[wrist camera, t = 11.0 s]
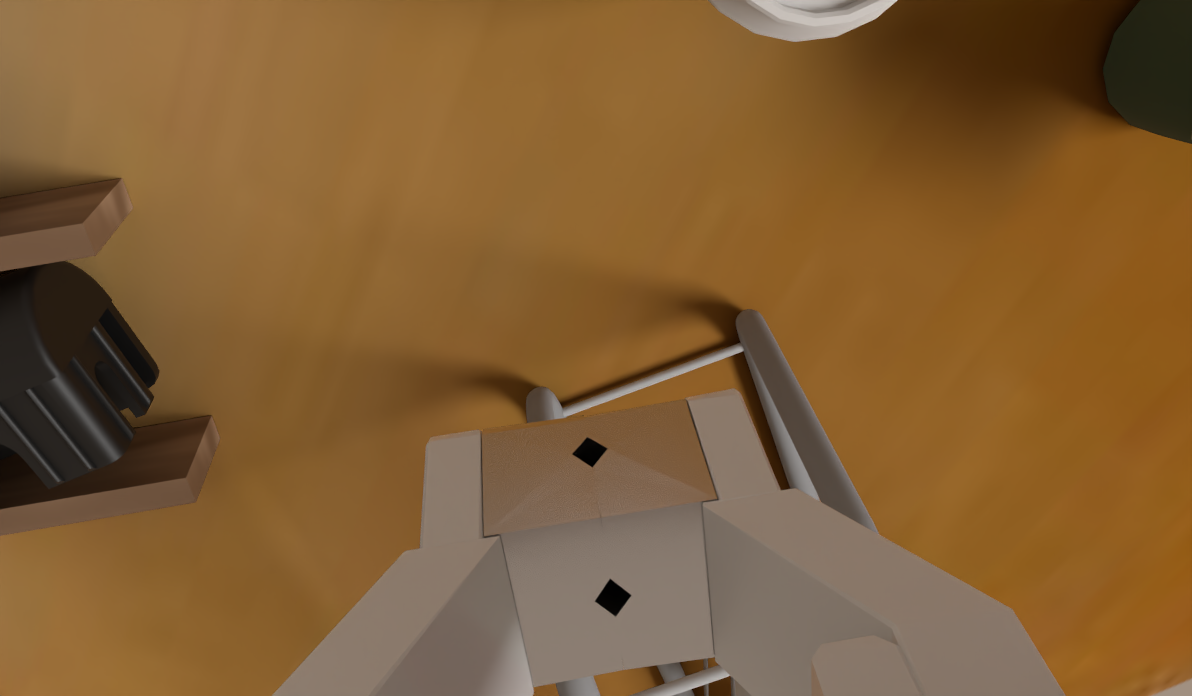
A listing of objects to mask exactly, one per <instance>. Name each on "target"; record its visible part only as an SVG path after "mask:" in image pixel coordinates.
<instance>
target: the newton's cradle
mask: <svg viewBox="0 0 1192 696" xmlns="http://www.w3.org/2000/svg"><path fill="white" fill-rule="evenodd" d="M736 329H737V332H738V336H739V339H740V342H741V343H738V344H735V345H732V346H730V347H727V348H724V349H722V350H719V351H716V352H714V353H711V354H708V355H705V356H703V357H700V358H697V359H695V360H692V361H689V362H686V363H684V364H681V365H678V366H676V367H673V368H670V369H667V370H665V371H662V372H659V373H657V374H654V375H651V376H649V377H646V378H643V379H640V380H638V381H635V382H632V383H630V384H627V385H624V386H621V387H619V388H616V389H613V390H611V391H608V392H605V393H602V394H600V395H597V396H594V397H592V398H589V399H586V400H584V401H581V402H578V403H575V404H573V405H570V406H567V407H565V408H562V407H561V405H560V403H559V401H558V399H557V398H556V396H555V395H554V393H553V392H551V391H550V390H549V389H548V388H546V387H536V388H534V389H533V390H532V391H531V392H530V393H529V394H528V395H527V398H526V414H527V423H531V422H538V421H546V420H553V419H560V418H567V417H566V416H569V415H572V414H574V413H577V412H580V411H582V410H585V409H588V408H591V407H593V406H596V405H599V404H601V403H604V402H607V401H610V400H612V399H615V398H618V397H620V396H623V395H626V394H629V393H631V392H634V391H637V390H639V389H642V388H645V387H648V386H650V385H653V384H656V383H658V382H661V381H664V380H667V379H669V378H672V377H675V376H677V375H680V374H683V373H686V372H688V371H691V370H694V369H696V368H699V367H702V366H705V365H707V364H710V363H713V362H715V361H718V360H721V359H724V358H726V357H729V356H732V355H734V354H737V353H740V352H743V351H744V354H745V357H746V360H747V363H748V366H749V369H750V372H751V374H752V377H753V380H754V383H755V386H756V389H757V392H758V395H759V398H760V401H761V404H762V407H763V410H764V413H765V416H766V419H767V421H768V424H769V427H770V430H771V433H772V436H773V439H774V442H775V445H776V448H777V451H778V454H779V457H780V460H781V463H782V465H783V468H784V471H785V474H786V477H787V480H788V483H789V486H790V489H794V488H796V489H798V490H800V491H802V492H804V493H805V494H807V495H809V496H811V497H813V498H814V499H816V500H818V501H820V500H821V502H822V503H823V504H825V505H827V506H829V507H830V508H832V509H834V510H836V511H838V512H839V513H841V514H843V515H845V516H847V517H848V518H850V519H852V520H854V521H855V522H857V523H859V524H861V525H863V526H864V527H866V528H868V529H870V530H872V531H873V532H875V533H877V534H879V533H878V531H877V529H876V527H875V525H874V523H873V521H872V519H871V517H870V515H869V513H868V512H867V510H866V508H865V506H864V504H863V502H862V500H861V499H860V497H859V495H858V493H857V491H856V489H855V487H854V485H853V484H852V482H851V480H850V478H849V476H848V474H847V472H846V471H845V469H844V467H843V465H842V463H841V461H840V459H839V458H838V456H837V454H836V452H835V450H834V448H833V446H832V445H831V443H830V441H829V439H828V437H827V435H826V433H825V431H824V430H823V428H822V426H821V424H820V422H819V420H818V418H817V417H816V415H815V413H814V411H813V409H812V407H811V405H810V404H809V402H808V400H807V398H806V396H805V394H804V392H803V390H802V389H801V387H800V385H799V383H798V381H797V379H796V377H795V376H794V374H793V372H792V370H791V368H790V366H789V364H788V363H787V361H786V359H785V357H784V355H783V353H782V351H781V349H780V348H779V346H778V344H777V342H776V340H775V338H774V336H773V335H772V333H771V331H770V329H769V327H768V325H767V323H766V322H765V320H764V318H763V317H762V315H761V314H760V313H759V312H757V311H755V310H751V309H747V310H744V311H742V312H741V313H739V315H738V316H737V318H736ZM818 496H819V497H818ZM819 498H820V500H819ZM657 667H658V669H659V671H660V673H661V676H662V678H663V680H664V682H665V684H662V685H659V686H656V687H653V688H650V689H647V690H644V691H642V692H639V693H636V694H633V695H630V696H695V695H694V693H693V691H692V689H693V688H696V687H699V686H702V685H704V696H709V693H708V683H711V682H714V681H717V680H720V679H723V678H726V677H728V676H730V675H729V674H728V673H727V672H726V671H725V670H724V669H723V668H722V667H721V666H720V665H717V666H714V667H711V668H709V669H708V658H706V659H704V670H703V671H700V672H697V673H694V674H691V675H688V676H685V673H684V671H683V669H682V667H681V665H680V663H679V662H677V663H670V664H662V665H657ZM556 687H557V690H558V693H559V696H600V693H599V691H598V688H597V685H596V683H595V680H594V677H593V676H589V677H584V678H579V679H573V680H568V681H563V682H558V683H556ZM731 696H751V695H750V694H749V693H748V692H747V691H746V690H745V689H744V688H743V687H742V686H741V685H740V684H739V683H738V682H737V681H736V680H735V679H734V678H732V677H731Z"/></svg>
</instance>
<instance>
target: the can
mask: <svg viewBox="0 0 1192 696" xmlns="http://www.w3.org/2000/svg"><path fill="white" fill-rule="evenodd" d="M708 1H709V2H710V3H711V4H712V5H713V6H714V7H715V8H716V9H717V10H718V11H719V12H721V13H723V14H724V15H726V16H727V17H729V18H731V19H732V20H734V21H736V22H737V23H739V24H740V25H742V26H744V27H745V28H747V29H748V30H750V31H752V32H753V33H755V34H760V35H765V36H769V37H774V38H779V39H783V40H788V41H793V42H797V41H806V40H814V39H822V38H831V37H837V36H839V35H841V34H843V33H846V32H848V31H850V30H852V29H854V28H857V27H859V26H861V25H863V24H865V23H868V22H870V21H872V20H874V19H876V18H877V17H878V16H880V15H881V14H882V13H883V12H884V11H885V10H887V9H888V8H889V7H890V6H891V5H892V4H894V3H895V2H896V1H897V0H708Z"/></svg>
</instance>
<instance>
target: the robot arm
mask: <svg viewBox="0 0 1192 696" xmlns="http://www.w3.org/2000/svg"><path fill="white" fill-rule="evenodd" d="M713 657H715V661H716V662H717V663H718V664H719V665H720V666H721V667H722V668H723V669H724V670H725V671H726V672H727V673H728V674H729V675H730V676H731V677H732V678H734V679H735V680H736V681H737V682H738V683H739V684H740V685H741V686H742V687H743V688H744V689H745V690H746V691H747V692H748V693H749V694H750V695H751V696H1065V694H1064V693H1063V691H1062V689H1061V688H1060V686H1059V684H1058V683H1057V681H1056V680H1055V678H1054V676H1053V675H1052V673H1051V671H1050V670H1049V668H1048V667H1047V665H1046V663H1045V662H1044V660H1043V658H1042V657H1041V655H1040V654H1039V652H1038V650H1037V649H1036V647H1035V645H1034V644H1033V642H1032V641H1031V639H1030V637H1029V636H1028V634H1027V632H1026V631H1025V629H1024V628H1023V626H1022V624H1021V623H1020V621H1019V619H1018V618H1017V616H1016V615H1015V613H1014V611H1013V610H1012V609H1011V608H1009V607H1007V606H1005V605H1004V604H1002V603H1000V602H998V601H996V600H995V599H993V598H991V597H989V596H988V595H986V594H984V593H982V592H980V591H979V590H977V589H975V588H973V587H972V586H970V585H968V584H966V583H964V582H963V581H961V580H959V579H957V578H955V577H954V576H952V575H950V574H948V573H947V572H945V571H943V570H941V569H939V568H938V567H936V566H934V565H932V564H930V563H929V562H927V561H925V560H923V559H922V558H920V557H918V556H916V555H914V554H913V553H911V552H909V551H907V550H905V549H904V548H902V547H900V546H898V545H897V544H895V543H893V542H891V541H889V540H888V539H886V538H884V537H882V536H880V535H879V534H877V533H875V532H873V531H872V530H870V529H868V528H866V527H864V526H863V525H861V524H859V523H857V522H855V521H854V520H852V519H850V518H848V517H847V516H845V515H843V514H841V513H839V512H838V511H836V510H834V509H832V508H830V507H829V506H827V505H825V504H823V503H822V502H820V501H818V500H816V499H814V498H813V497H811V496H809V495H807V494H805V493H804V492H802V491H800V490H798V489H796V488H794V489H787V490H780V487H779V485H778V482H777V480H776V478H775V475H774V473H773V470H772V468H771V465H770V463H769V461H768V458H767V456H766V453H765V451H764V449H763V446H762V444H761V441H760V439H759V437H758V434H757V432H756V429H755V427H754V425H753V422H752V420H751V417H750V415H749V412H748V410H747V408H746V405H745V403H744V400H743V398H742V396H741V393H740V392H738V391H737V390H736V389H729V390H724V391H719V392H714V393H708V394H703V395H698V396H693V397H687V398H685V399H682V400H677V401H671V402H665V403H659V404H654V405H648V406H642V407H636V408H631V409H625V410H619V411H613V412H608V413H602V414H596V415H590V416H584V415H582V416H575V417H568V418H560V419H553V420H546V421H538V422H531V423H524V424H517V425H509V426H502V427H495V428H487V429H483V431H480V430H473V431H467V432H460V433H454V434H448V435H442V436H435V437H431V438H430V440H429V441H428V443H427V445H426V455H425V472H424V488H423V504H422V520H421V537H420V549H414V550H408V551H405V552H403V553H402V554H401V556H400V557H399V558H398V559H397V560H396V561H395V562H394V563H393V564H392V565H391V566H390V568H389V569H388V570H387V571H386V572H385V573H384V574H383V575H382V576H381V577H380V578H379V580H378V581H377V582H376V583H375V584H374V585H373V586H372V587H371V588H370V589H369V590H368V592H367V593H366V594H365V595H364V596H363V597H362V598H361V599H360V600H359V601H358V602H357V604H356V605H355V606H354V607H353V608H352V609H351V610H350V611H349V612H348V613H347V614H346V615H345V617H344V618H343V619H342V620H341V621H340V622H339V623H338V624H337V625H336V626H335V627H334V629H333V630H332V631H331V632H330V633H329V634H328V635H327V636H326V637H325V638H324V639H323V641H322V642H321V643H320V644H319V645H318V646H317V647H316V648H315V649H314V650H313V651H312V653H311V654H310V655H309V656H308V657H307V658H306V659H305V660H304V661H303V662H302V663H301V665H300V666H299V667H298V668H297V669H296V670H295V671H294V672H293V673H292V674H291V675H290V677H289V678H288V679H287V680H286V681H285V682H284V683H283V684H282V685H281V686H280V687H279V689H278V690H277V691H276V692H275V693H274V694H273V695H272V696H532V695H533V694H534V690H533V687H537V686H542V685H548V684H553V683H558V682H563V681H568V680H573V679H579V678H584V677H589V676H594V675H599V674H604V673H610V672H615V671H620V670H626V669H633V668H641V667H648V666H655V665H662V664H670V663H677V662H684V661H691V660H699V659H706V658H713ZM623 666H624V669H623Z"/></svg>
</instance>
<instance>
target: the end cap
mask: <svg viewBox="0 0 1192 696" xmlns="http://www.w3.org/2000/svg"><path fill="white" fill-rule="evenodd" d="M158 375H159V369H158V366H157V364H156V363H155V361H154V360H153V359H152V357H151V356H150V354H149V353H148V352H147V350H146V349H145V347H144V346H143V345H142V343H141V342H140V340H139V339H138V338H137V336H136V335H135V334H134V332H133V331H132V329H131V328H130V327H129V325H128V324H127V322H126V321H125V320H124V318H123V317H122V316H121V314H120V313H119V311H118V310H117V309H116V307H115V306H114V304H113V303H112V299H111V298H110V297H109V295H108V294H107V293H106V292H105V290H104V289H103V288H102V287H101V286H100V285H99V284H98V283H97V282H96V281H95V280H94V279H93V278H92V277H91V276H89V275H88V274H87V273H86V272H84V271H83V270H81V269H80V268H78V267H76V266H74V265H73V264H71V263H68V262H65V261H60V262H54V263H48V264H42V265H36V266H30V267H23V268H21V269H18V270H16V271H14V272H11V273H9V274H7V275H4V276H2V277H0V460H2V459H4V458H7V457H9V456H12V455H14V454H16V453H18V454H19V455H20V456H21V457H22V458H23V459H24V460H25V462H26V463H27V464H28V465H29V466H30V467H31V469H32V470H33V471H34V472H35V473H36V475H37V476H38V477H39V478H40V479H41V480H42V482H43V483H44V484H45V485H46V486H47V488H48V489H50V488H53V487H55V486H58V485H60V484H62V483H65V482H67V481H70V480H72V479H75V478H77V477H80V476H82V475H85V474H87V473H89V472H92V471H94V470H97V469H99V468H102V467H104V466H107V465H109V464H111V463H113V462H114V461H116V460H117V459H119V458H120V457H121V456H122V455H123V454H124V453H125V452H126V451H127V449H128V447H129V445H130V443H131V442H132V440H133V438H134V436H135V434H136V431H135V430H134V429H133V427H132V426H131V425H130V423H129V422H128V421H127V419H126V418H125V417H124V416H123V414H122V413H121V412H120V411H121V410H123V409H125V408H128V407H129V409H130V410H131V411H132V413H133V414H134V415H135V417H136V418H137V417H140V416H142V415H145V414H146V412H147V410H148V408H149V407H150V405H151V403H152V401H153V399H154V396H153V394H152V393H151V392H150V390H149V389H148V388H150V387H151V386H152V385H154V384H155V382H156V380H157V378H158Z"/></svg>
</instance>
